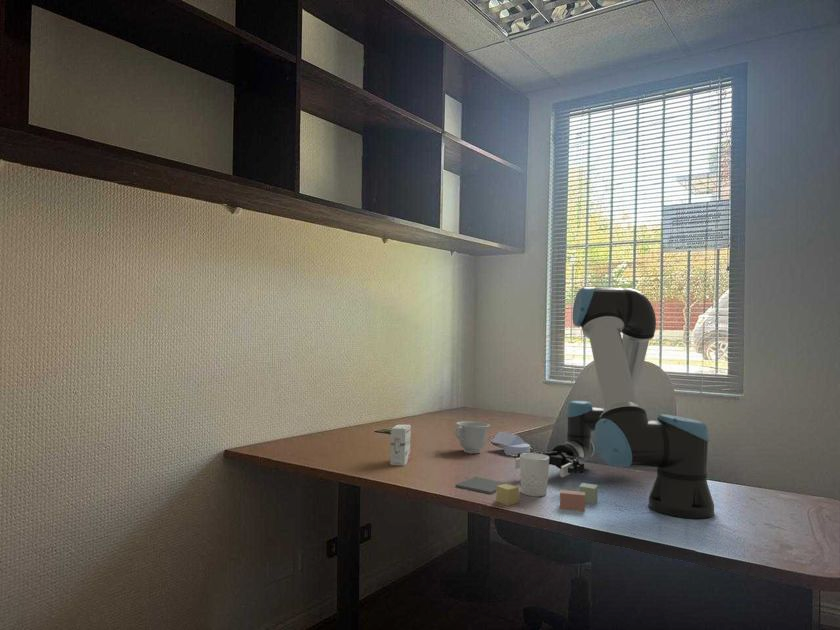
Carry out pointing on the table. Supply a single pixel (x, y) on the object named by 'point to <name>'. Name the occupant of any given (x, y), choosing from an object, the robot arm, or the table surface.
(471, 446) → the teacup
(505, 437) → the wedge on round base
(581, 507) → the brick-red long block
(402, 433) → the ink box
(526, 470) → the white cup
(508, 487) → the mustard block
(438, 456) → the table surface
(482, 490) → the slate coaster
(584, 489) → the sage block
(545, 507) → the table surface
